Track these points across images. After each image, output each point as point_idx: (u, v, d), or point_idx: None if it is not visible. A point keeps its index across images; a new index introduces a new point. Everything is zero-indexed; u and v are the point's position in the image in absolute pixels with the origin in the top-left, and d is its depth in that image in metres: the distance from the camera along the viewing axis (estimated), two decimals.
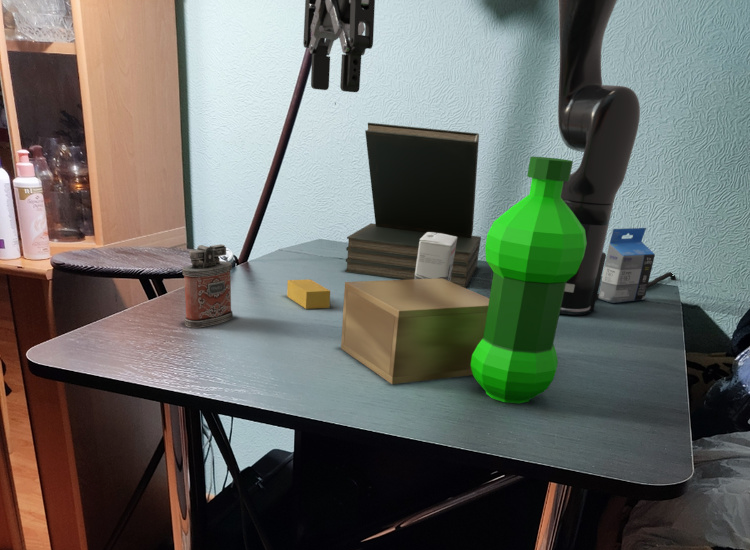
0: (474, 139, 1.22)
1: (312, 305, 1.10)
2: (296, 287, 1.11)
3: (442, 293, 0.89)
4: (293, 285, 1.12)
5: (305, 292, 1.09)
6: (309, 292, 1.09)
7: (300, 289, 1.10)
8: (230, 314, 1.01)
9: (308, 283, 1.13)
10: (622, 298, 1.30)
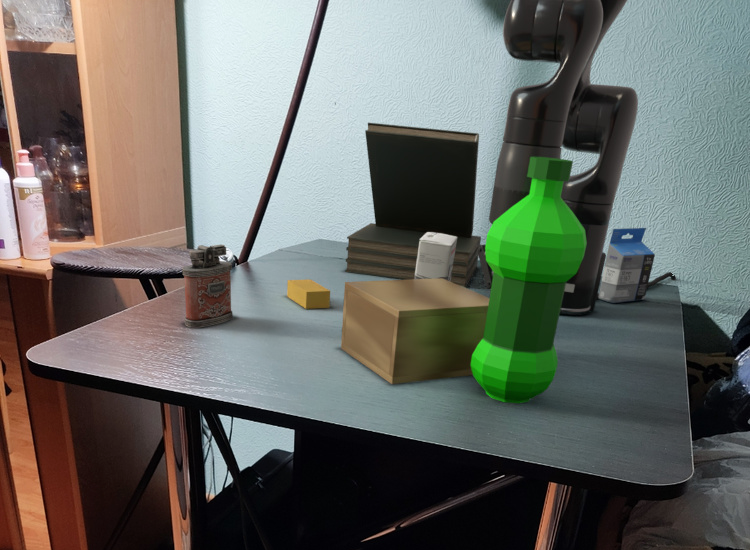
0: (474, 139, 1.22)
1: (312, 305, 1.10)
2: (296, 287, 1.11)
3: (442, 293, 0.89)
4: (293, 285, 1.12)
5: (305, 292, 1.09)
6: (309, 292, 1.09)
7: (300, 289, 1.10)
8: (230, 314, 1.01)
9: (308, 283, 1.13)
10: (622, 298, 1.30)
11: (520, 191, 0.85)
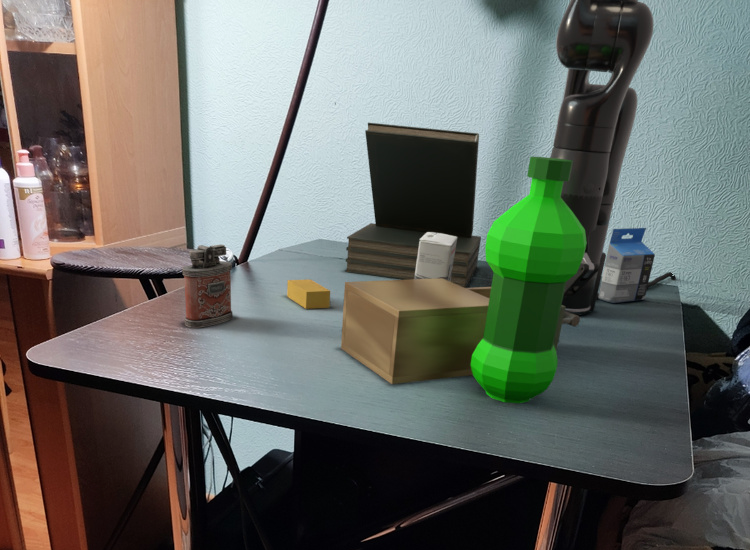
0: (474, 139, 1.22)
1: (312, 305, 1.10)
2: (296, 287, 1.11)
3: (442, 293, 0.89)
4: (293, 285, 1.12)
5: (305, 292, 1.09)
6: (309, 292, 1.09)
7: (300, 289, 1.10)
8: (230, 314, 1.01)
9: (308, 283, 1.13)
10: (622, 298, 1.30)
11: (570, 195, 0.88)
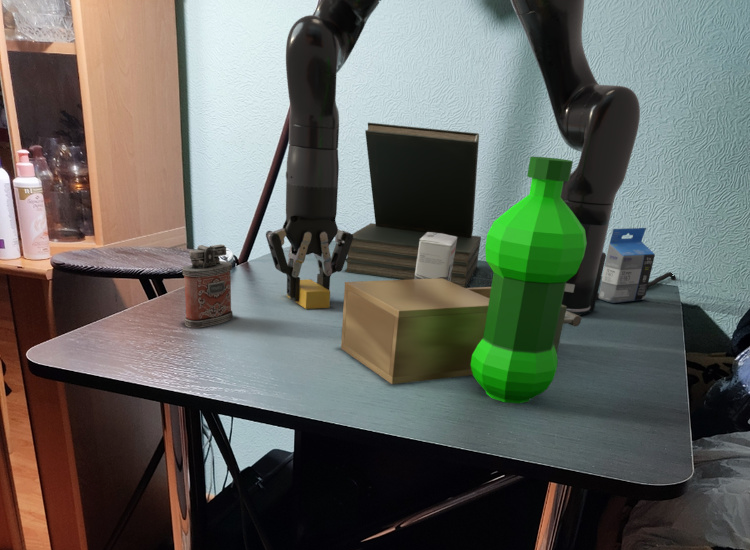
0: (474, 139, 1.22)
1: (312, 305, 1.10)
2: None
3: (442, 293, 0.89)
4: None
5: (305, 292, 1.09)
6: (309, 292, 1.09)
7: (300, 289, 1.10)
8: (230, 314, 1.01)
9: (308, 283, 1.13)
10: (622, 298, 1.30)
11: None
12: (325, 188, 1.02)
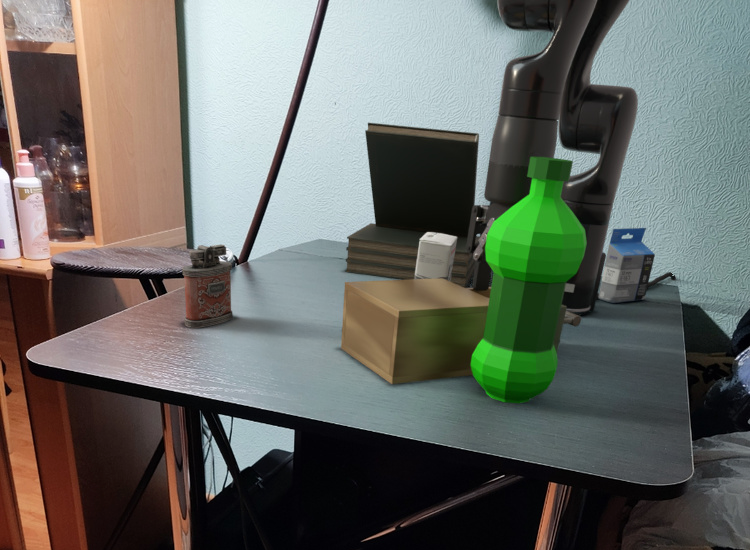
0: (474, 139, 1.22)
1: None
2: None
3: (442, 293, 0.89)
4: None
5: None
6: None
7: None
8: (230, 314, 1.01)
9: None
10: (622, 298, 1.30)
11: (516, 165, 0.83)
12: None
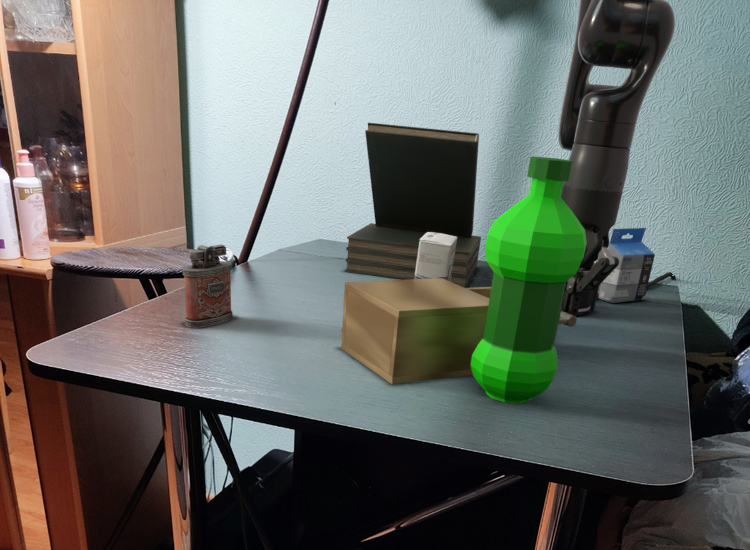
0: (474, 139, 1.22)
1: None
2: None
3: (442, 293, 0.89)
4: None
5: None
6: None
7: None
8: (230, 314, 1.01)
9: None
10: (622, 298, 1.30)
11: (591, 190, 0.89)
12: None
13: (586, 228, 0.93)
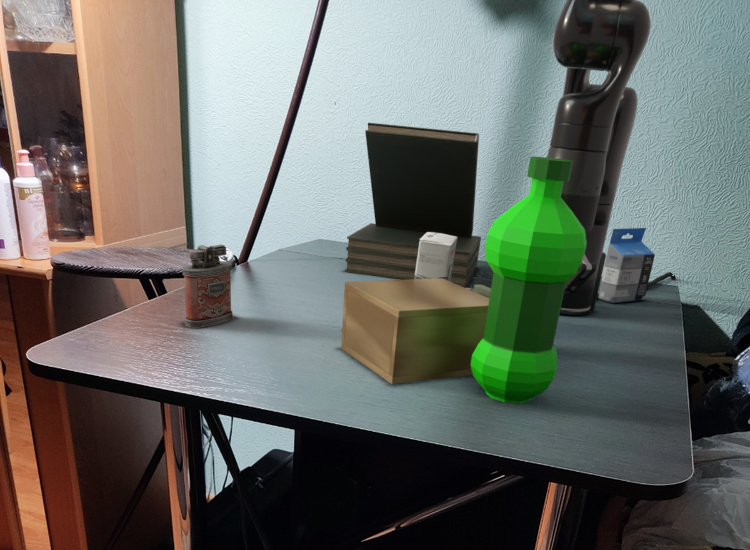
0: (474, 139, 1.22)
1: None
2: None
3: (442, 293, 0.89)
4: None
5: None
6: None
7: None
8: (230, 314, 1.01)
9: None
10: (622, 298, 1.30)
11: (567, 194, 0.88)
12: None
13: None
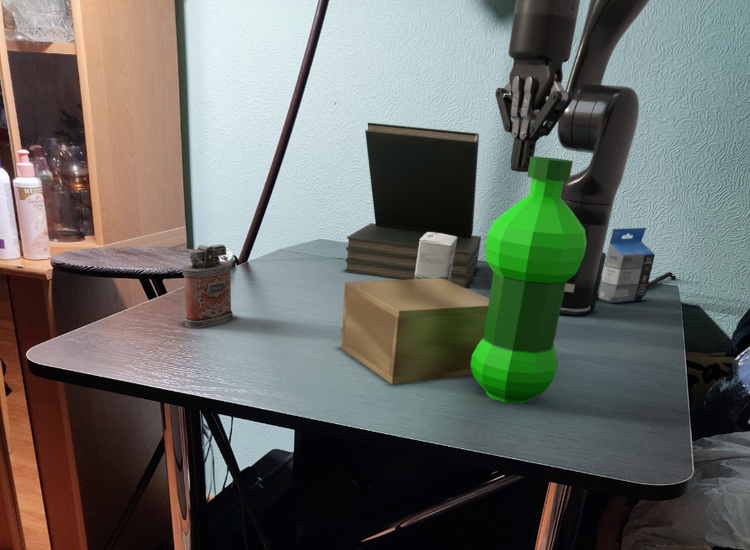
0: (474, 139, 1.22)
1: None
2: None
3: (442, 293, 0.89)
4: None
5: None
6: None
7: None
8: (230, 314, 1.01)
9: None
10: (622, 298, 1.30)
11: (541, 14, 0.84)
12: None
13: (538, 62, 0.87)
